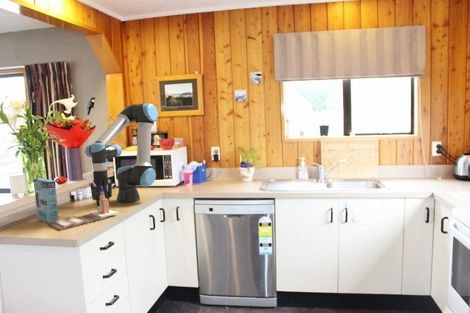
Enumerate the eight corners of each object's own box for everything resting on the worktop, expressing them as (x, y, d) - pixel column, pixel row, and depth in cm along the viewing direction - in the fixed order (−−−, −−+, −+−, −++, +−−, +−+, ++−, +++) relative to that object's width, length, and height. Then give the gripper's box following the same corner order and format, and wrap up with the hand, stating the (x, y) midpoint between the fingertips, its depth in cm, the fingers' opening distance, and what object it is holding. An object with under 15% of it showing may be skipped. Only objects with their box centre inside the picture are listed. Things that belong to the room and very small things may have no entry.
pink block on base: (106, 210, 218) (104, 195, 217) (117, 213, 208) (116, 198, 207) (89, 214, 210) (88, 198, 209) (101, 217, 201) (99, 201, 200)
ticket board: (93, 214, 213) (93, 211, 213) (106, 219, 202) (106, 215, 202) (48, 225, 195) (47, 221, 195) (60, 230, 184) (59, 226, 184)
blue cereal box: (37, 218, 211) (32, 179, 208) (46, 216, 214) (42, 177, 212) (50, 224, 197) (45, 182, 195) (59, 221, 201) (55, 180, 199)
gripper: (110, 167, 215) (113, 206, 217) (83, 171, 203) (86, 212, 206) (116, 168, 210) (119, 208, 212) (89, 172, 198) (92, 214, 201)
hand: (103, 210), depth 209 cm, fingers closed on pink block on base, 3 cm apart
